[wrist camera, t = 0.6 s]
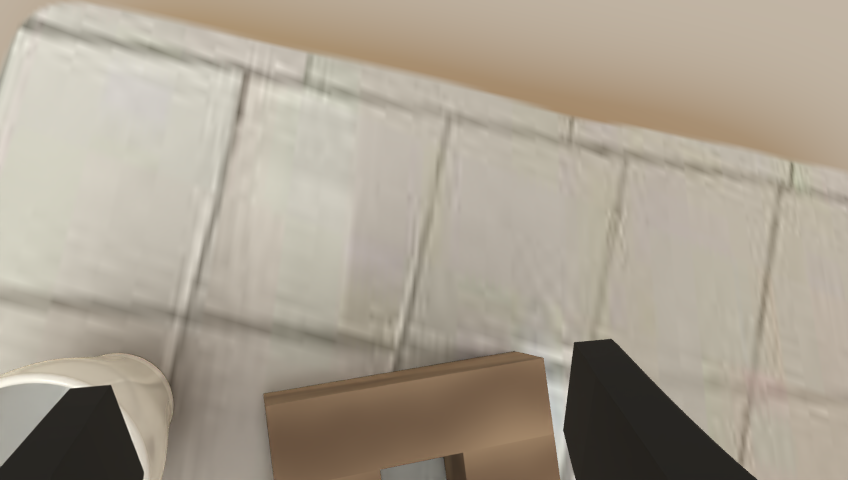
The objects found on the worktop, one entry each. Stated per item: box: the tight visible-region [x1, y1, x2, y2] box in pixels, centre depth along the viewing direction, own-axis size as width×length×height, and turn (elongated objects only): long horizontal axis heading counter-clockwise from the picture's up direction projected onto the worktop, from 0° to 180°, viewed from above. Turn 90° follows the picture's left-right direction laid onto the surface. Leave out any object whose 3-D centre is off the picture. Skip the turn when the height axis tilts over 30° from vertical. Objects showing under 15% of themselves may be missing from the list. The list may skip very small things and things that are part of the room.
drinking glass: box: [0, 353, 173, 480], centre depth 27 cm, size 7×7×15 cm
